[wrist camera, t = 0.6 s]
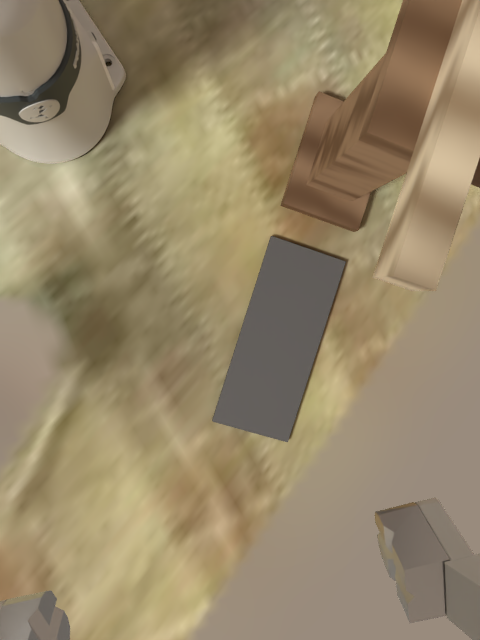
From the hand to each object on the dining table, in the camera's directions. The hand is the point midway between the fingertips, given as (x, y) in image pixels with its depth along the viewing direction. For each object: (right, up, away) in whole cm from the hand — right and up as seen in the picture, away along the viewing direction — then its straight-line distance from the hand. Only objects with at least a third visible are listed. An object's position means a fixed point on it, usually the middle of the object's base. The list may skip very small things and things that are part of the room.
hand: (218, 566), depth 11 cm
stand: (+12, +25, +45) cm, 53 cm away
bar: (+14, +19, +20) cm, 31 cm away
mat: (+5, +4, +46) cm, 46 cm away
